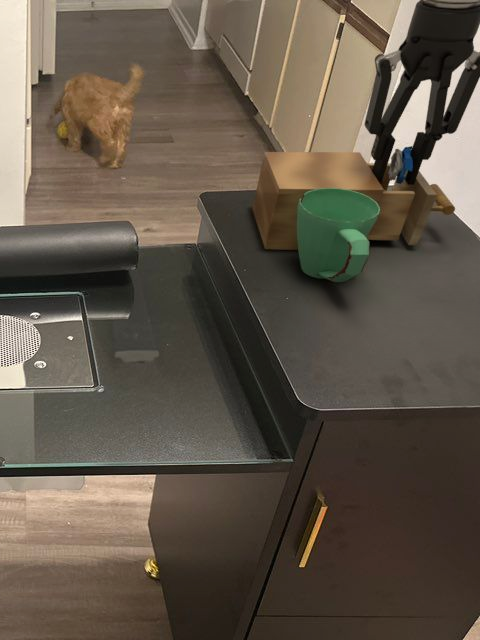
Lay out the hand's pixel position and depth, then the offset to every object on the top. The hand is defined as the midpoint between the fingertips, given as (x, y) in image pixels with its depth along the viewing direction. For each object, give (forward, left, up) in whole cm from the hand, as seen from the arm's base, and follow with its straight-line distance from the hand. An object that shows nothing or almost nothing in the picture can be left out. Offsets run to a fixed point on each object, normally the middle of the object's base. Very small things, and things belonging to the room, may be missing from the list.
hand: (391, 180), depth 104 cm
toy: (0, 0, -1) cm, 1 cm away
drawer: (0, 0, -7) cm, 7 cm away
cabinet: (+10, 0, -8) cm, 13 cm away
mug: (+10, +14, -8) cm, 19 cm away
